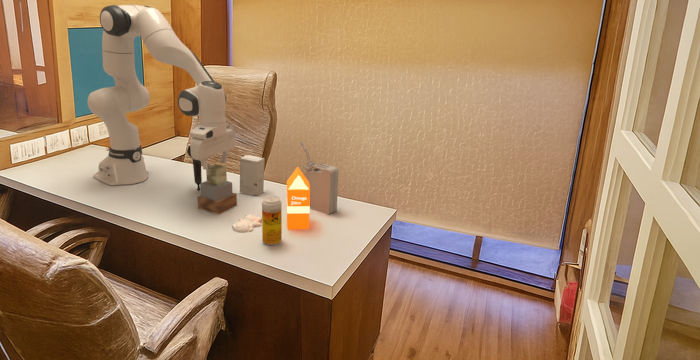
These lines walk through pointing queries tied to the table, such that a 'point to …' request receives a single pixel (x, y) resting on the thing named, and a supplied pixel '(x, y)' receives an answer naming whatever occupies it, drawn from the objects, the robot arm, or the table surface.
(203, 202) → the walnut base block
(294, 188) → the orange juice
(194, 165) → the microphone
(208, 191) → the slate top block
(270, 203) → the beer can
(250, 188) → the skincare box
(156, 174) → the table surface
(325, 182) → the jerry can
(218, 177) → the sage cube
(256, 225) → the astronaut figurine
